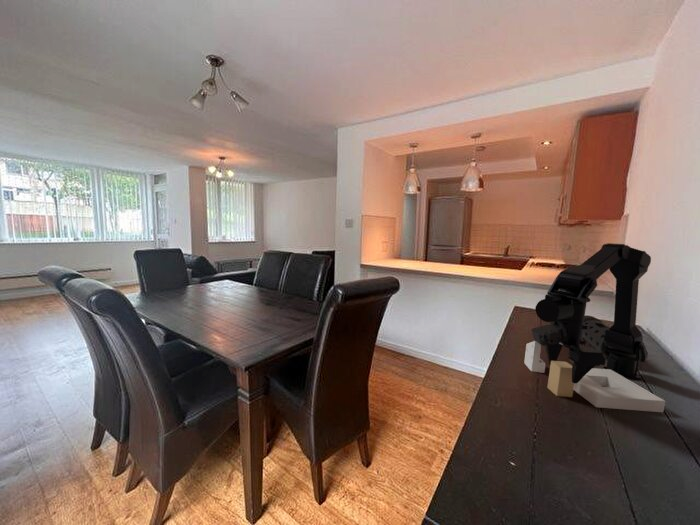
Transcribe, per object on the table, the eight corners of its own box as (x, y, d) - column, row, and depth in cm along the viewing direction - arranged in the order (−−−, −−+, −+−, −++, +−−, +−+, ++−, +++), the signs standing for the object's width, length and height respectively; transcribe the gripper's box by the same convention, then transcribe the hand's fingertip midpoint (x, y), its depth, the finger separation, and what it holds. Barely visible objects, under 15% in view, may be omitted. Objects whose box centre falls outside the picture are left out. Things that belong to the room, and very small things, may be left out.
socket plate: (609, 378, 86) (610, 369, 86) (663, 412, 70) (665, 401, 70) (554, 374, 87) (555, 365, 87) (596, 407, 71) (597, 396, 71)
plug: (562, 388, 79) (565, 361, 78) (572, 397, 75) (576, 368, 75) (547, 387, 80) (551, 360, 79) (556, 395, 76) (560, 367, 75)
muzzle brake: (597, 362, 98) (601, 333, 97) (569, 335, 124) (573, 312, 123) (632, 368, 95) (638, 338, 93) (596, 339, 120) (600, 315, 119)
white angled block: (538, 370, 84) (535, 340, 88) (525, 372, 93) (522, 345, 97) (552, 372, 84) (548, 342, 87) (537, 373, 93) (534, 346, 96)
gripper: (520, 307, 85) (514, 356, 87) (562, 328, 66) (554, 391, 68) (558, 309, 84) (551, 359, 86) (612, 331, 66) (602, 394, 68)
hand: (562, 373), depth 77 cm, fingers open, 9 cm apart
